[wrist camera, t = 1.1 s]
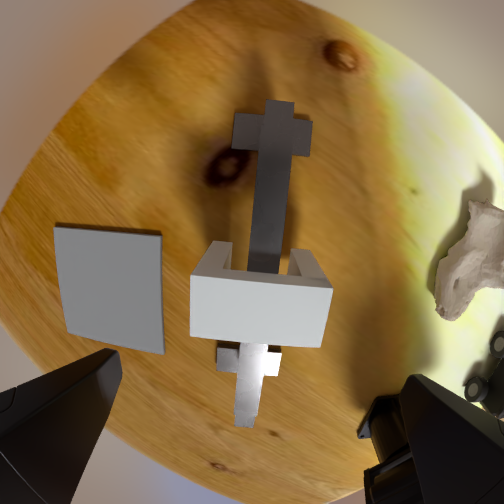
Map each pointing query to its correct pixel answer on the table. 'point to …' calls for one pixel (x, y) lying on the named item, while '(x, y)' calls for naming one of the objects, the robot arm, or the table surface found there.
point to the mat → (112, 286)
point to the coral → (471, 261)
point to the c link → (259, 300)
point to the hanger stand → (264, 234)
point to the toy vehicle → (490, 383)
